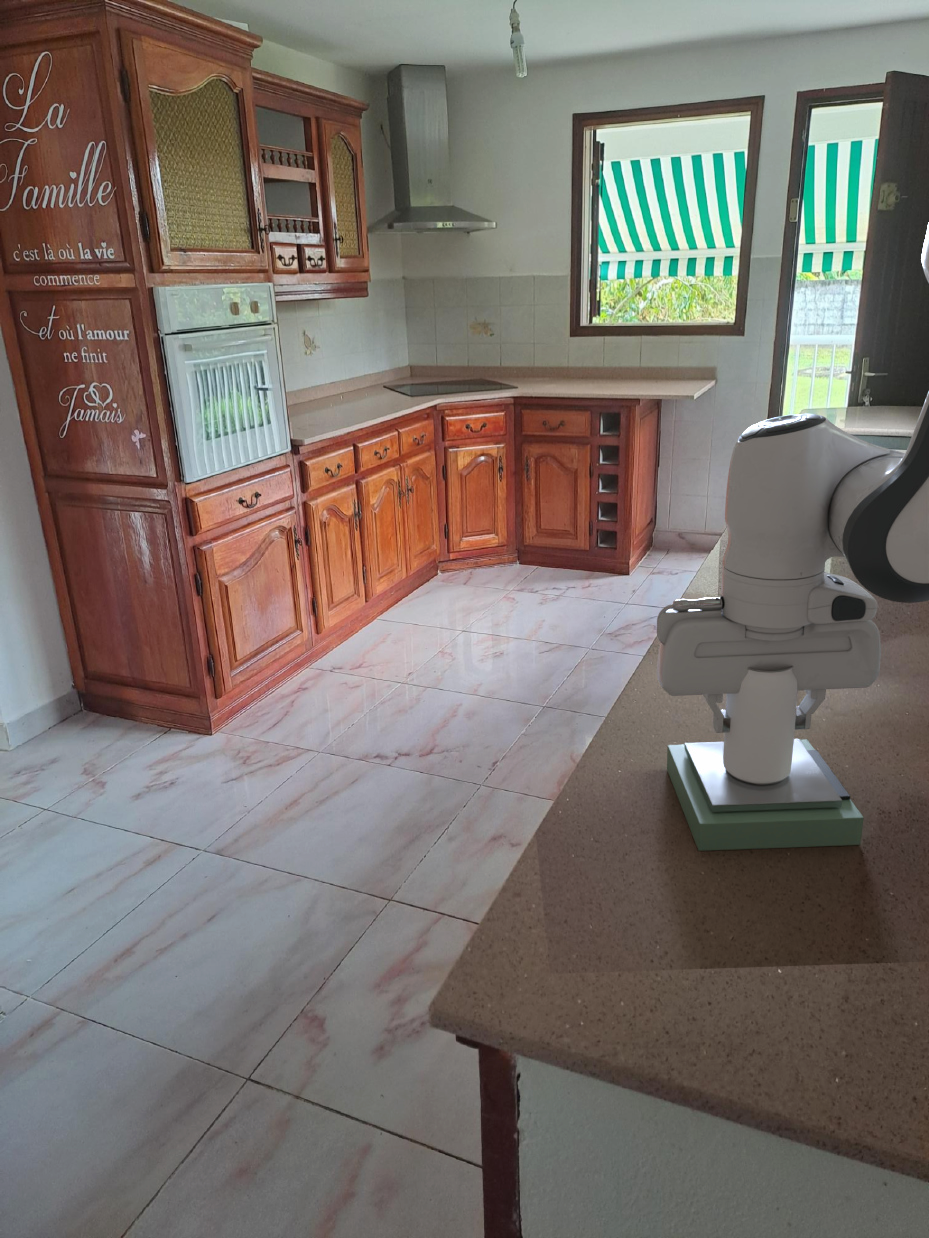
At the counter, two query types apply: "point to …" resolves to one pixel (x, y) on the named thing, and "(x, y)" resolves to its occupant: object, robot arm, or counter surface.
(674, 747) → the scale
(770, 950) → the counter surface
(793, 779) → the scale pan
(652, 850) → the counter surface
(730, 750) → the can
